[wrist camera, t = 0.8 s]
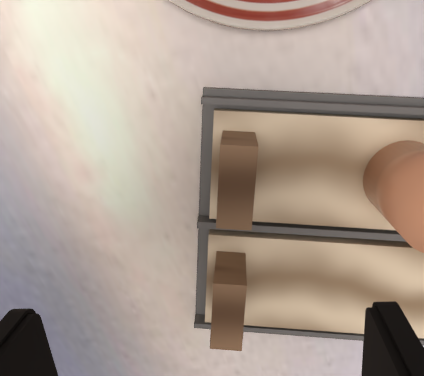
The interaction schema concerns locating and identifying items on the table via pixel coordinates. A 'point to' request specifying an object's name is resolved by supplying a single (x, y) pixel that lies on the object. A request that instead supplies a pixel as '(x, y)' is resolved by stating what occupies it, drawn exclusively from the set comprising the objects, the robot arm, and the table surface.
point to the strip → (306, 283)
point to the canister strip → (298, 167)
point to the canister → (399, 188)
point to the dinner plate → (268, 12)
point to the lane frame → (300, 104)
